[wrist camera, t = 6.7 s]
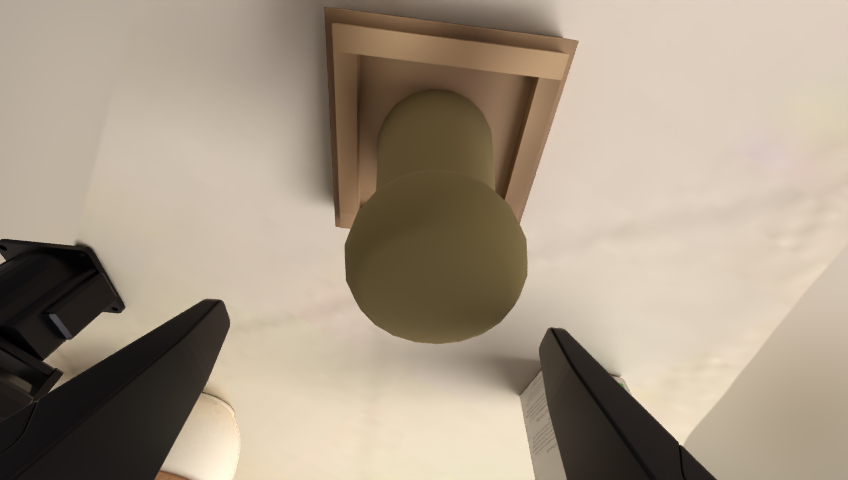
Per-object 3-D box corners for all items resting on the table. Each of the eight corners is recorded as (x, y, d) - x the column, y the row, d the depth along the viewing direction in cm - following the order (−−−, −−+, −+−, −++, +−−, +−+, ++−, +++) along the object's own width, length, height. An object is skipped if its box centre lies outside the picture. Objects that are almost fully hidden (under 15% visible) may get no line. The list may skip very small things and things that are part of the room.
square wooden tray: (342, 210, 22) (332, 233, 19) (336, 8, 16) (318, 6, 13) (506, 227, 22) (515, 253, 20) (563, 37, 16) (585, 42, 14)
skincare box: (624, 376, 31) (756, 628, 18) (586, 411, 35) (675, 642, 22) (543, 359, 30) (624, 616, 17) (513, 397, 34) (562, 632, 21)
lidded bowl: (138, 361, 32) (20, 500, 23) (269, 395, 35) (210, 530, 26) (141, 420, 39) (50, 546, 29) (251, 444, 41) (199, 566, 32)
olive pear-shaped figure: (353, 142, 17) (261, 287, 8) (445, 59, 15) (464, 130, 6) (426, 220, 20) (419, 396, 11) (515, 159, 17) (602, 317, 8)
